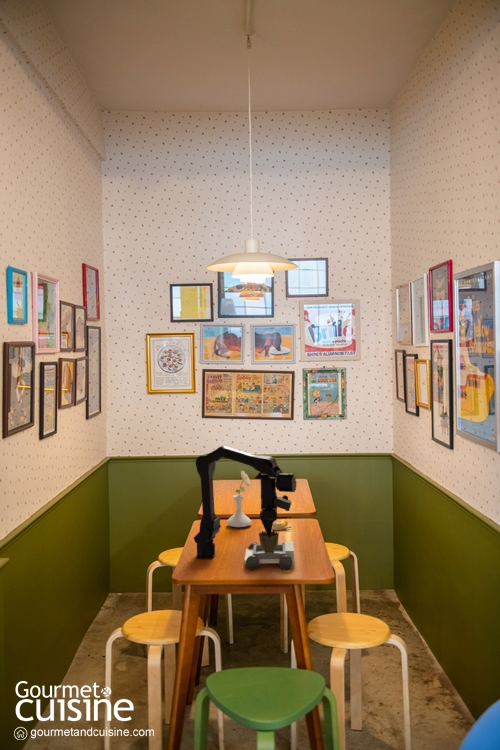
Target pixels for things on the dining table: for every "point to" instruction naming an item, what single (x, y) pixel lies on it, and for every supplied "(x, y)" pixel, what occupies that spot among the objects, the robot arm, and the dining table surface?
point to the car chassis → (270, 556)
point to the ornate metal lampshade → (268, 541)
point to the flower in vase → (239, 517)
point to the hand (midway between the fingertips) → (269, 532)
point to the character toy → (280, 525)
